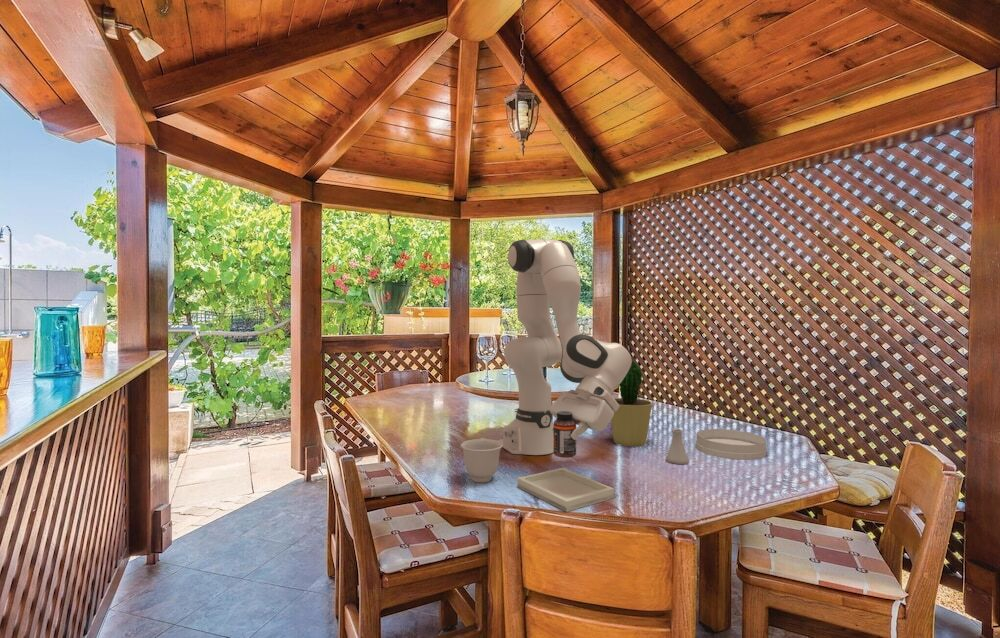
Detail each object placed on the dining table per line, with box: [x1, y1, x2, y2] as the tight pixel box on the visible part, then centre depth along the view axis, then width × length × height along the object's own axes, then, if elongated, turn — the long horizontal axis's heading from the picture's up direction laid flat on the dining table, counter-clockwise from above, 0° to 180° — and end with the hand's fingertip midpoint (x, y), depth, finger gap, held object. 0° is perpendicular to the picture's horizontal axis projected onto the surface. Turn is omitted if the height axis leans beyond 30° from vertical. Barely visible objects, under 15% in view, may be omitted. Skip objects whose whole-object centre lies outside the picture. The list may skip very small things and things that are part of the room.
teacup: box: [460, 437, 503, 483], centre depth 145 cm, size 12×15×10 cm
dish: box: [695, 428, 768, 461], centre depth 174 cm, size 22×22×5 cm
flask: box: [664, 428, 690, 465], centre depth 161 cm, size 7×7×10 cm
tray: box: [517, 467, 615, 513], centre depth 133 cm, size 20×16×2 cm
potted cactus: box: [610, 360, 653, 447], centre depth 183 cm, size 15×15×30 cm
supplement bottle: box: [553, 411, 577, 459], centre depth 133 cm, size 6×6×11 cm
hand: (562, 434), depth 133 cm, fingers closed on supplement bottle, 6 cm apart
